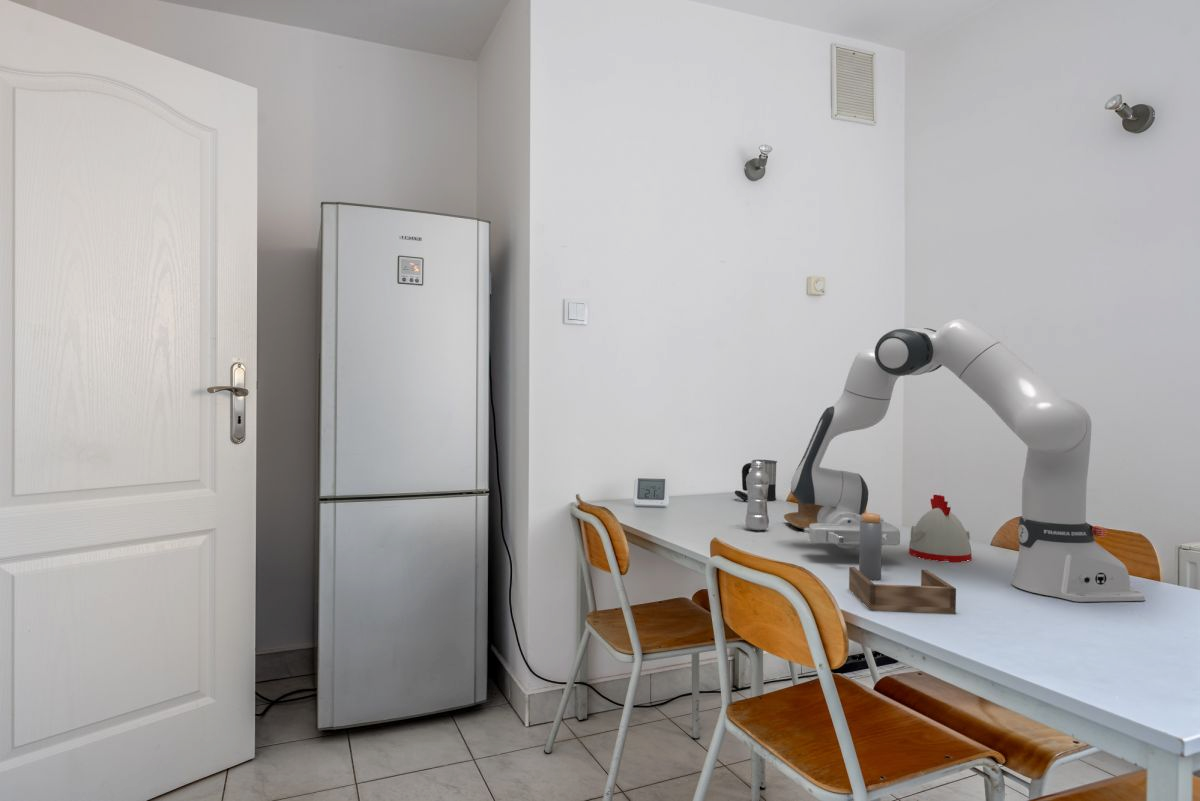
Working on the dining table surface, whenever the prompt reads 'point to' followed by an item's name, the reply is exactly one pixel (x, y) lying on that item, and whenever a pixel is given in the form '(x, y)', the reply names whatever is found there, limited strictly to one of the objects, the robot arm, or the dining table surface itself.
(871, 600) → the box
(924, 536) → the kitchen timer
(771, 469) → the milk frother
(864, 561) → the grey bottle with cap
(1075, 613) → the dining table surface
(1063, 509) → the robot arm
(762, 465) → the plastic bottle
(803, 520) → the brown flared piece
